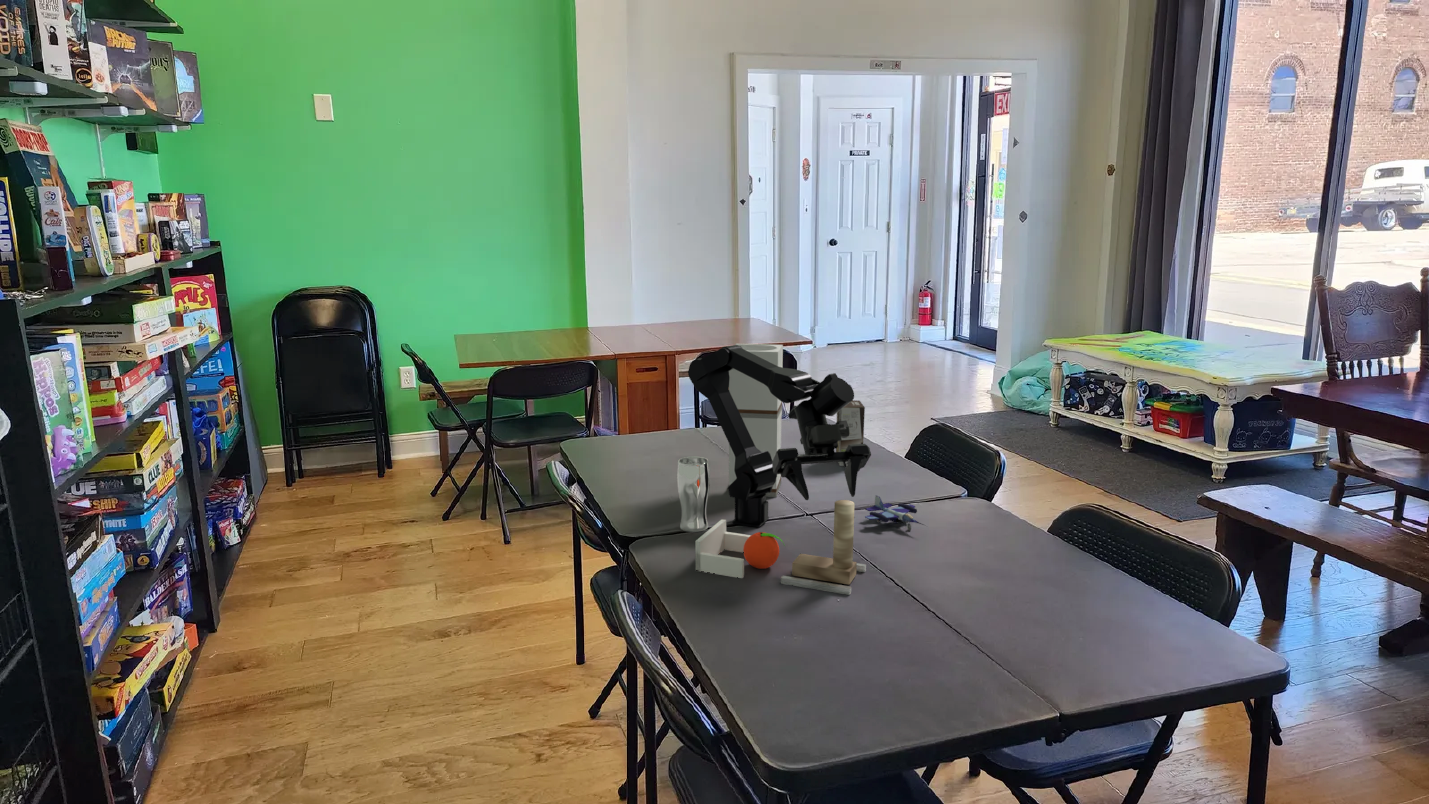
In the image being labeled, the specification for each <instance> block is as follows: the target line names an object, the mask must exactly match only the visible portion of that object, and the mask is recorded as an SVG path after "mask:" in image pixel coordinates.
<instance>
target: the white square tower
mask: <svg viewBox="0 0 1429 804" xmlns="http://www.w3.org/2000/svg"><path fill="white" fill-rule="evenodd" d="M734 345H738V346H741V347H742V348H743V349H744V350H746V351H748V352H750V353H752V354H754V355H756V356H758V357H760V358H762V359H764V360H766V361H768V362H770V363H772V364H774V365H776V366H778V367H782V368H784V367H783V363H784V362H783V358H784V357H783V356H784V355H783V354H784V344H770V343H769V344H768V343H767V344H761V343H758V344H757V343H735V344H734ZM728 373H729V376H730V380H729V392H730V394H731V396H732V398H733V400H734V402H735V404H736V406H737V409H738V411H739V413H740V415H741V417H742V419H743V421H744V423H745V425H746V428H747V430H748V432H749V434H750V436H751V438H752V440H753V442H754V445H755V446H756V448H757V449H758V450H760V451H761V452H765V451H768V452H769V453H770V455H771V458H772V461H773V459H774V457H775V454H776V452H777V451H778V449H782V415H783V402H781V401H780V400H779V399H778V398H776V397H775V396H774V395H772V394H771V392H770V390H769V388H768V387H767V386H766V385H764V384H762V383H761V382H759V381H757V380H755V379H753V378H751V377H749V376H747V375H745V374H743V373H741V372H739V371H737V370H736V369H734V368H733V369H732V370H730V371H729V372H728ZM734 468H735V455H734V453H733V451H732V449H731V447H730V444H729V443H728V487H729V486H730V485H731V484H732V483H733V482H734V481H735V480H736V479H737V477H736V474H735V471H734ZM781 486H782V477H781V474H777V477H776V482H775V484H774V485H773V488H772V491H771V492H770V493H766V498H777V496H778V495H779V490H780V488H781Z"/></svg>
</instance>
